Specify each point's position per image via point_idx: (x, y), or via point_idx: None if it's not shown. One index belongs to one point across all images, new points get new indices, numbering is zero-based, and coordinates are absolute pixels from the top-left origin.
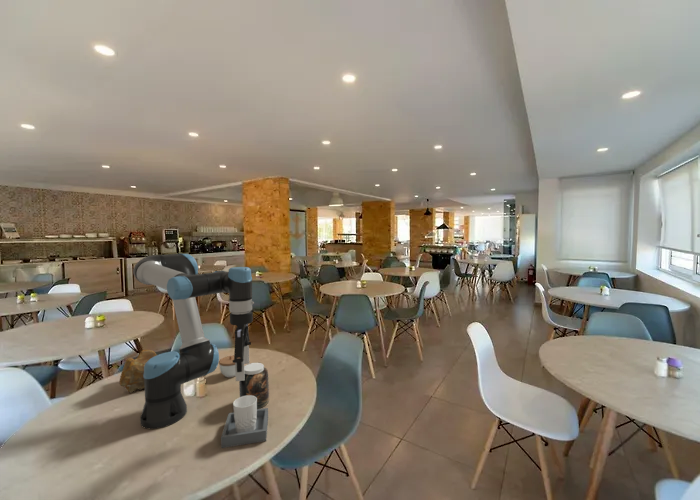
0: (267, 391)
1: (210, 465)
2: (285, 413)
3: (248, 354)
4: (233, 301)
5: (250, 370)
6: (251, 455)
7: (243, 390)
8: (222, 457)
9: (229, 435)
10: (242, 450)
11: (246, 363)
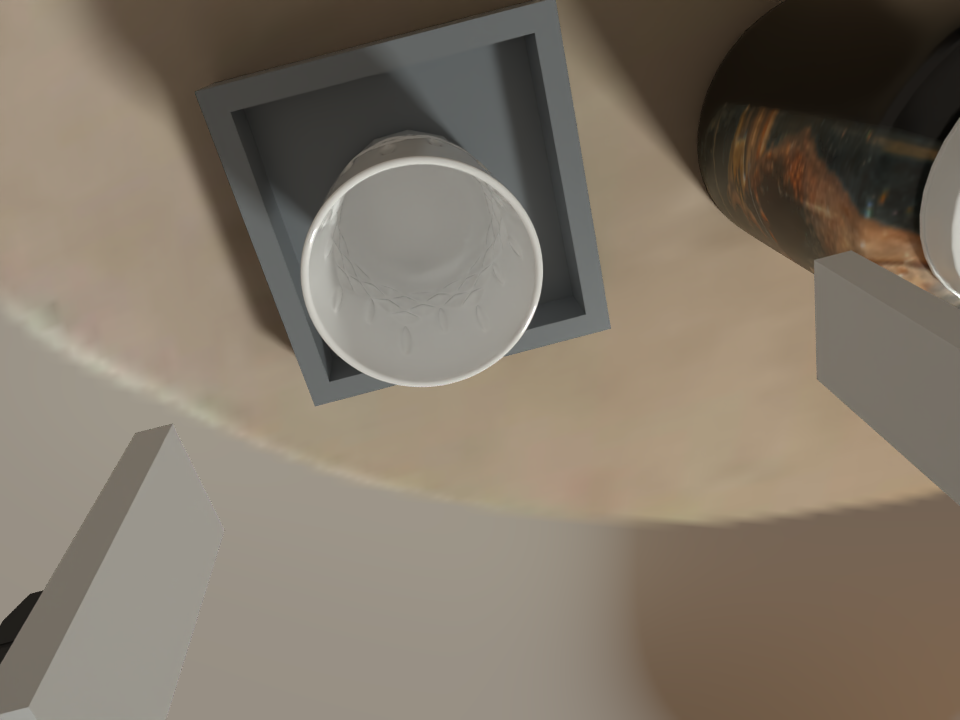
0: None
1: (25, 85)
2: (623, 404)
3: (923, 462)
4: None
5: None
6: (174, 328)
7: (808, 77)
8: (120, 138)
9: (230, 155)
10: (211, 252)
11: (816, 342)
